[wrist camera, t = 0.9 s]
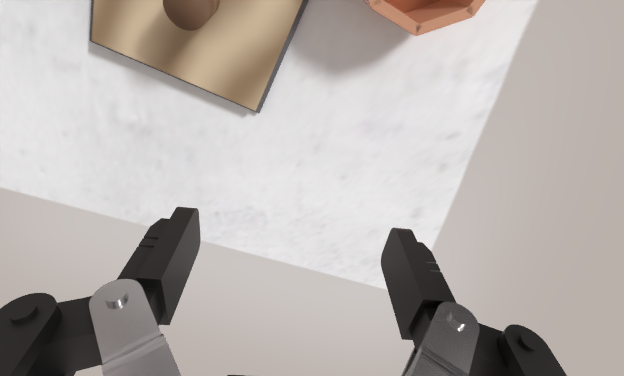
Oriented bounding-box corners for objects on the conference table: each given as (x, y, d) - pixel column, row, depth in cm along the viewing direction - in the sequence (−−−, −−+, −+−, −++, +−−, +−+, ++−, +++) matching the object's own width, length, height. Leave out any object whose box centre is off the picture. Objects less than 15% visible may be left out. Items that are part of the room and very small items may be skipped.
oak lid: (96, 38, 27) (61, 57, 23) (111, -199, 19) (60, -234, 15) (256, 107, 32) (250, 133, 28) (325, -56, 24) (331, -53, 20)
